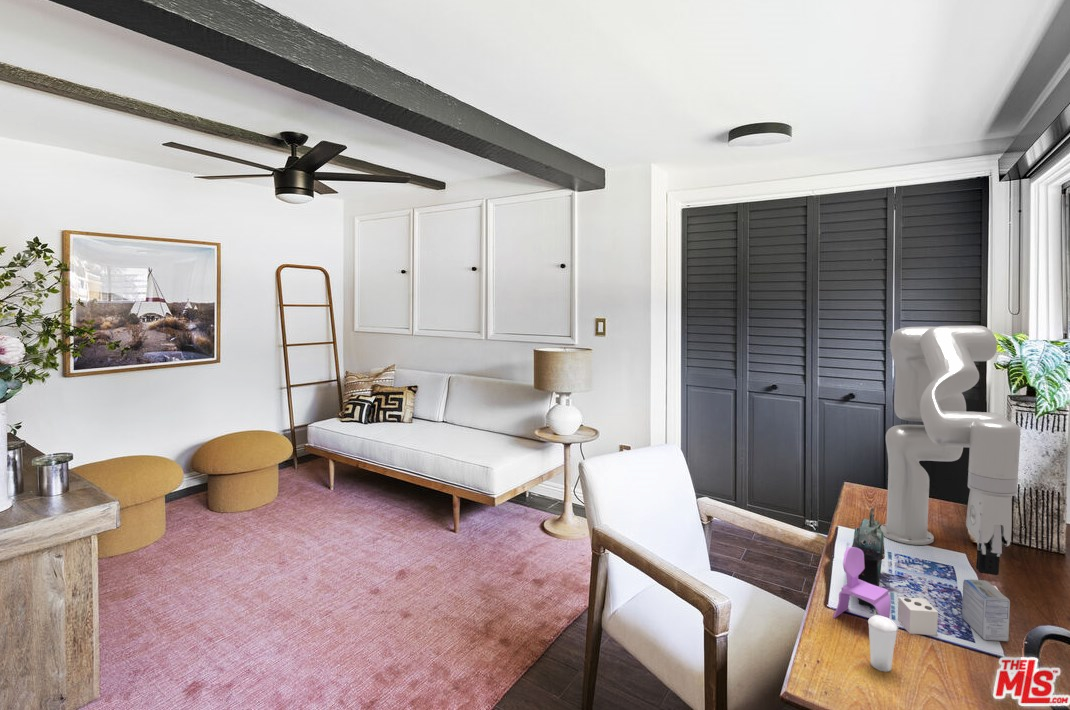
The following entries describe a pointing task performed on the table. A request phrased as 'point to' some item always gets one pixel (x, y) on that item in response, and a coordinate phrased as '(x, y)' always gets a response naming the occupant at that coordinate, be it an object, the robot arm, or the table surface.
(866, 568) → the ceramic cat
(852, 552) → the toy chair
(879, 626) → the milkshake
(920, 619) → the dotted block three
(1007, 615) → the medicine box
